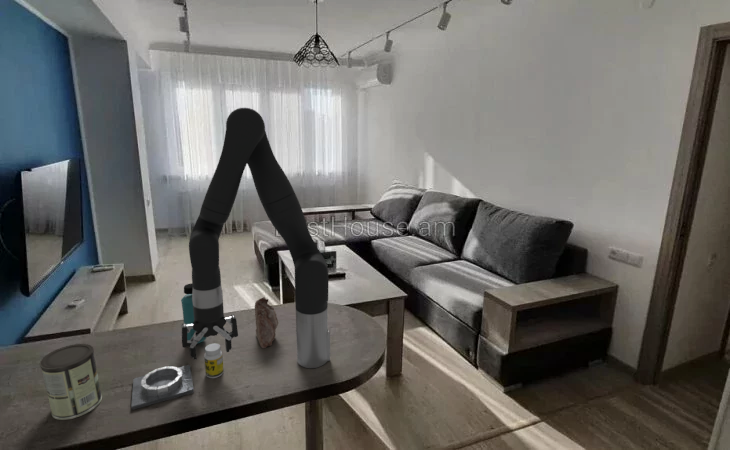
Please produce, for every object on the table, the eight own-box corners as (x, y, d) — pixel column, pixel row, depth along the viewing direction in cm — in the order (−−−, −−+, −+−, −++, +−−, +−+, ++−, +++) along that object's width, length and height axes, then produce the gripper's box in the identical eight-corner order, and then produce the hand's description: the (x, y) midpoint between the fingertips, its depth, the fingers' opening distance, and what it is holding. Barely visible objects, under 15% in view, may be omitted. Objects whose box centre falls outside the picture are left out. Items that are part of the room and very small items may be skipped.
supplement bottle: (202, 376, 107) (199, 349, 105) (214, 366, 111) (211, 341, 109) (216, 380, 105) (213, 353, 103) (227, 370, 110) (225, 344, 107)
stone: (249, 295, 124) (252, 311, 116) (273, 291, 127) (277, 305, 118) (256, 333, 129) (259, 351, 121) (278, 328, 132) (282, 345, 123)
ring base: (190, 367, 111) (189, 358, 110) (193, 392, 100) (192, 382, 100) (133, 381, 104) (132, 372, 103) (131, 410, 94) (130, 399, 93)
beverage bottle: (202, 348, 120) (196, 289, 115) (181, 348, 120) (174, 289, 115) (211, 337, 126) (206, 281, 121) (191, 336, 126) (185, 280, 121)
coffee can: (70, 391, 100) (61, 343, 96) (111, 391, 100) (102, 343, 97) (39, 420, 90) (27, 368, 86) (84, 420, 90) (74, 368, 87)
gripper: (179, 312, 96) (184, 368, 100) (238, 302, 103) (240, 355, 107) (177, 299, 103) (182, 353, 107) (233, 291, 109) (235, 341, 113)
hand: (211, 354), depth 107 cm, fingers open, 8 cm apart
